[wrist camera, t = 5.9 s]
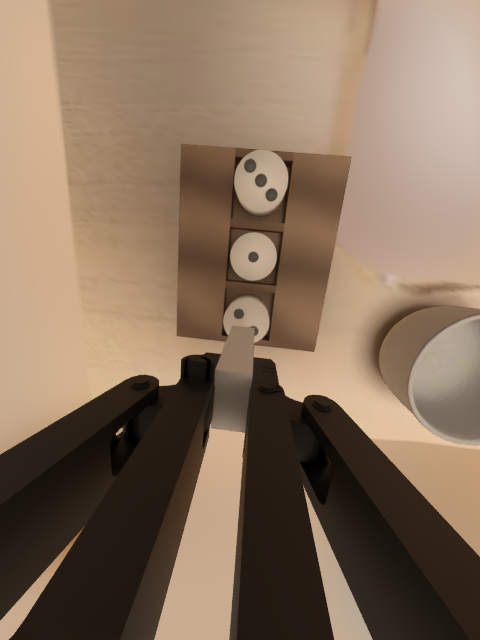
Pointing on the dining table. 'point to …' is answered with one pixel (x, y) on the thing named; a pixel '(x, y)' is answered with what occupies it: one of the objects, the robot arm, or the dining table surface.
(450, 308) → the teacup
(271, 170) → the button three
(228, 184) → the panel
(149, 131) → the dining table surface
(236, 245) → the button one
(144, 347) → the dining table surface
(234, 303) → the button two
